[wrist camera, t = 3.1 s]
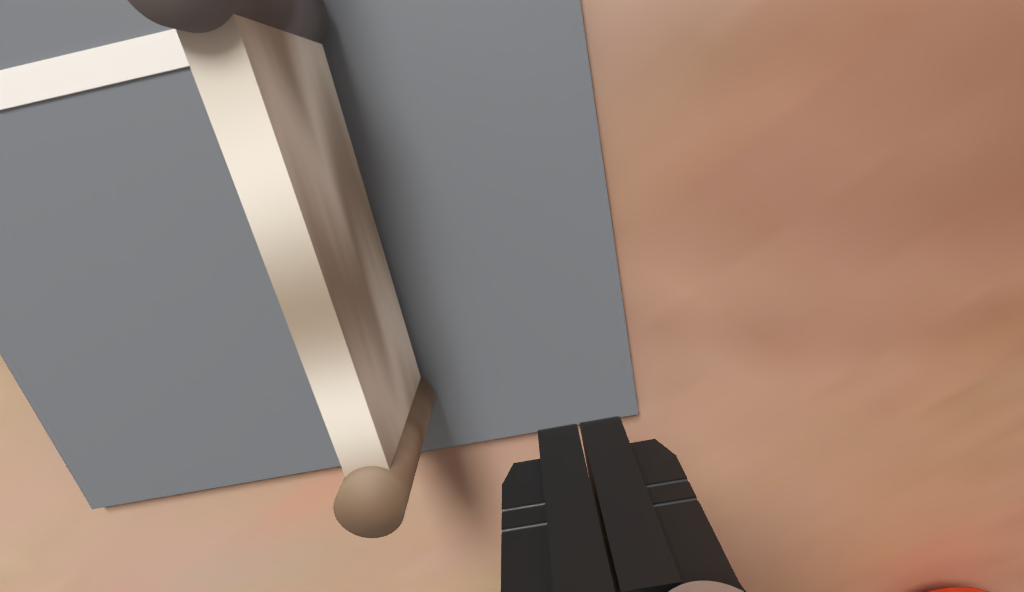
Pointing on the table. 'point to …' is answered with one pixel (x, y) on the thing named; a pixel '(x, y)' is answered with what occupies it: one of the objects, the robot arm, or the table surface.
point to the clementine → (958, 589)
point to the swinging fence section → (313, 235)
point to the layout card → (238, 262)
